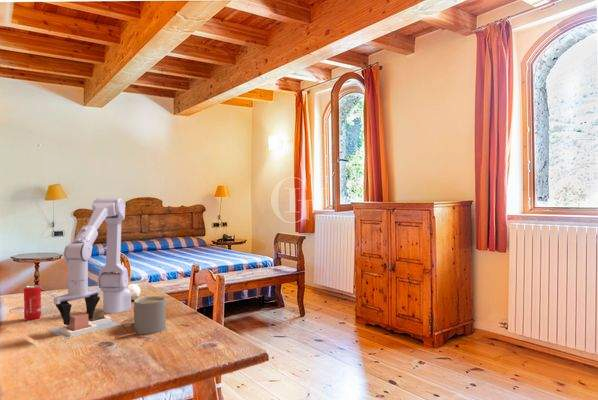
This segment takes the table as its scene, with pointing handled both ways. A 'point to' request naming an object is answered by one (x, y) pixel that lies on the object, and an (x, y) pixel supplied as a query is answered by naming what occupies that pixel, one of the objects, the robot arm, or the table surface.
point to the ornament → (134, 291)
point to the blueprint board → (92, 327)
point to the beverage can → (32, 302)
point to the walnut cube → (97, 315)
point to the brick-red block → (78, 321)
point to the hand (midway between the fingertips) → (78, 321)
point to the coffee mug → (149, 314)
